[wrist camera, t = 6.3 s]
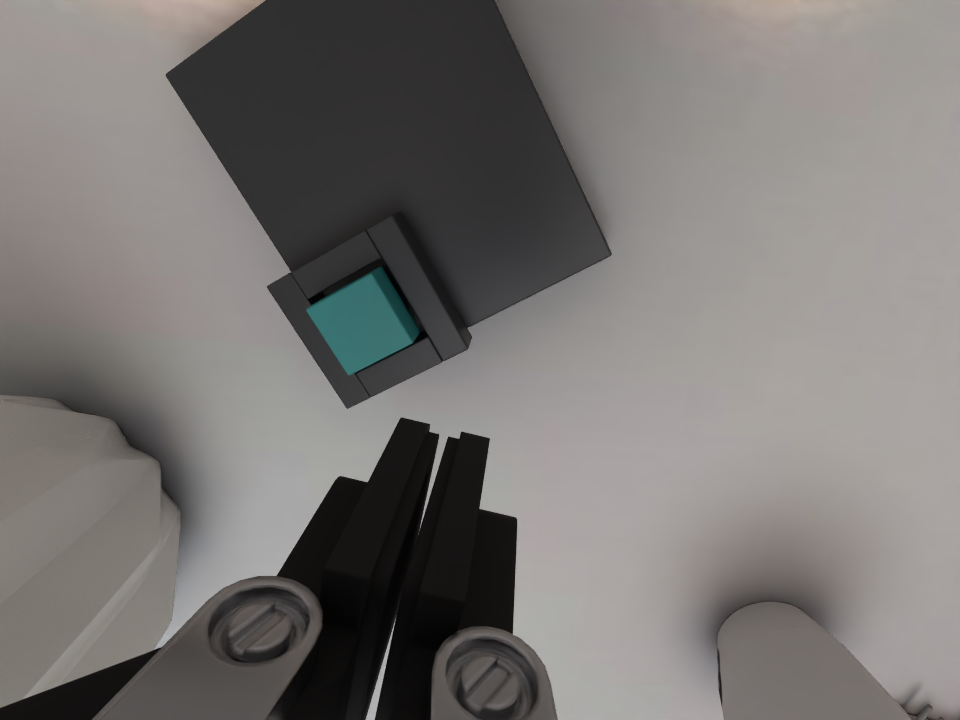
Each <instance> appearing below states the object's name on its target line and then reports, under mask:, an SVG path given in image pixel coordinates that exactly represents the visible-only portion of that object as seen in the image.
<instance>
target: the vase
mask: <svg viewBox="0 0 960 720" xmlns="http://www.w3.org/2000/svg"><path fill="white" fill-rule="evenodd" d="M179 535H180V510H179V508H178V506H177V505H176V504H175V502H174V501H173V500H172V499H171V498H170V497H169V496H168V494H167V493H166V492H165V491H164V490H163V489H162V488H161V468H160V464H159V461H157V460H156V459H155V458H154V457H152V456H150V455H148V454H146V453H144V452H142V451H139V450H137V449H135V448H133V447H132V446H130V445H129V443H128V442H127V440H126V438H125V437H124V435H123V433H122V432H121V430H120V428H119V427H118V425H117V424H116V423H115V422H114V421H113V420H112V419H108V418H104V417H101V416H96V415H90V414H83V413H77V412H74V411H72V410H71V409H70V408H68V407H67V406H65V405H64V404H62V403H61V402H59V401H56V400H54V399H49V398H39V397H28V396H13V395H0V708H1V707H4V706H6V705H9V704H12V703H14V702H17V701H20V700H22V699H25V698H28V697H30V696H33V695H36V694H38V693H41V692H44V691H46V690H49V689H52V688H54V687H57V686H60V685H62V684H65V683H68V682H70V681H73V680H76V679H78V678H81V677H84V676H86V675H89V674H92V673H94V672H97V671H100V670H102V669H105V668H108V667H110V666H113V665H116V664H118V663H121V662H124V661H126V660H129V659H131V658H134V657H137V656H139V655H142V654H145V653H147V652H150V651H153V650H154V648H155V647H156V645H157V644H158V642H159V641H160V639H161V638H162V636H163V634H164V633H165V631H166V630H167V628H168V626H169V624H170V622H171V621H172V616H173V607H174V597H175V586H176V574H177V563H178V549H179Z"/></svg>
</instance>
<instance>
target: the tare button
mask: <svg viewBox="0 0 960 720" xmlns="http://www.w3.org/2000/svg"><path fill="white" fill-rule="evenodd" d="M306 311H307V313H308V314H309V316H310V317H311V319H312V320H313V322H314V324H315V325H316V327H317V328H318V330H319V331H320V333H321V334H322V336H323V337H324V339H325V341H326V342H327V344H328V345H329V347H330V348H331V350H332V351H333V353H334V354H335V356H336V358H337V359H338V361H339V362H340V364H341V365H342V367H343V368H344V370H345V371H346V373H347V375H351V374H353V373H355V372H357V371H359V370H361V369H363V368H365V367H367V366H369V365H371V364H373V363H375V362H377V361H379V360H381V359H383V358H385V357H387V356H389V355H391V354H393V353H395V352H397V351H399V350H400V349H402V348H404V347H406V346H408V345H410V344H412V343H413V342H414V340H415V339H416V337H417V336H418V334H419V332H420V330H419V328H418V326H417V325H416V323H415V321H414V320H413V318H412V316H411V315H410V313H409V311H408V309H407V308H406V306H405V304H404V303H403V301H402V299H401V298H400V296H399V294H398V293H397V291H396V289H395V287H394V286H393V284H392V282H391V281H390V279H389V277H388V276H387V274H386V272H385V271H384V269H383V267H382V266H380V267H378V268H376V269H375V270H373V271H371V272H369V273H367V274H366V275H364V276H362V277H360V278H358V279H357V280H355V281H353V282H351V283H349V284H348V285H346V286H344V287H342V288H340V289H339V290H337V291H335V292H333V293H331V294H330V295H328V296H326V297H324V298H322V299H321V300H319V301H318V302H316V303H314V304H313V305H311V306H310V307H308V308H307V309H306Z"/></svg>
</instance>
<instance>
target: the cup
mask: <svg viewBox="0 0 960 720" xmlns="http://www.w3.org/2000/svg"><path fill="white" fill-rule="evenodd" d="M717 652H718V688H719V693H720V699H721V705H722V710H723V716H724V720H912V719H911V718H910V717H909V716H908V714H907V713H906V712H905V711H904V709H903V708H902V707H901V706H900V705H899V704H898V703H897V702H896V701H895V700H894V699H893V698H892V696H891V695H890V694H889V693H888V692H887V691H886V690H885V689H884V688H883V687H882V686H881V685H880V683H879V682H878V681H877V680H876V679H875V678H874V677H873V676H872V675H871V674H870V673H869V672H868V671H867V669H866V668H865V667H864V666H863V665H862V664H861V663H860V662H859V661H858V660H857V659H856V658H855V657H854V655H853V654H852V653H851V652H850V651H849V650H848V649H847V648H846V647H845V646H844V645H843V644H842V643H841V642H839V641H838V640H837V639H836V638H834V637H833V636H832V635H831V634H830V633H828V632H827V631H826V630H825V629H824V628H822V627H821V626H820V625H819V624H817V623H816V622H815V621H814V620H813V619H811V618H810V617H809V616H808V615H807V614H805V613H804V612H803V611H802V610H800V609H798V608H796V607H794V606H792V605H789V604H786V603H781V602H760V603H755V604H751V605H748V606H745V607H743V608H741V609H739V610H737V611H736V612H734V613H733V614H732V615H730V616H729V617H728V618H727V619H726V620H725V622H724V623H723V624H722V626H721V628H720V630H719V633H718V638H717Z"/></svg>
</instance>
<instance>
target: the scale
mask: <svg viewBox="0 0 960 720" xmlns="http://www.w3.org/2000/svg"><path fill="white" fill-rule="evenodd" d="M166 77H167V79H168V80H169V82H170V83H171V85H172V86H173V88H174V89H175V91H176V93H177V94H178V96H179V97H180V99H181V100H182V102H183V103H184V105H185V107H186V108H187V110H188V111H189V113H190V114H191V116H192V118H193V119H194V121H195V122H196V124H197V125H198V127H199V128H200V130H201V132H202V133H203V135H204V136H205V138H206V139H207V141H208V142H209V144H210V146H211V147H212V149H213V150H214V152H215V153H216V155H217V157H218V158H219V160H220V161H221V163H222V164H223V166H224V167H225V169H226V171H227V172H228V174H229V175H230V177H231V178H232V180H233V181H234V183H235V185H236V186H237V188H238V189H239V191H240V192H241V194H242V196H243V197H244V199H245V200H246V202H247V203H248V205H249V206H250V208H251V210H252V211H253V213H254V214H255V216H256V217H257V219H258V220H259V222H260V224H261V225H262V227H263V228H264V230H265V231H266V233H267V235H268V236H269V238H270V239H271V241H272V242H273V244H274V245H275V247H276V249H277V250H278V252H279V253H280V255H281V256H282V258H283V259H284V261H285V263H286V264H287V266H288V267H289V269H290V270H291V273H289V274H287V275H285V276H284V277H282V278H280V279H279V280H277V281H275V282H273V283H272V284H270V285H268V286H267V288H268V290H269V291H270V293H271V294H272V296H273V297H274V299H275V300H276V302H277V303H278V305H279V306H280V308H281V309H282V311H283V313H284V314H285V316H286V317H287V319H288V320H289V322H290V323H291V325H292V326H293V328H294V329H295V331H296V332H297V334H298V335H299V337H300V338H301V340H302V341H303V343H304V344H305V346H306V347H307V349H308V350H309V352H310V353H311V355H312V356H313V358H314V359H315V361H316V363H317V364H318V366H319V367H320V369H321V370H322V372H323V373H324V375H325V376H326V378H327V379H328V381H329V382H330V384H331V385H332V387H333V388H334V390H335V391H336V393H337V394H338V396H339V397H340V399H341V400H342V402H343V403H344V405H345V406H346V408H347V409H348V408H350V407H352V406H354V405H356V404H358V403H360V402H362V401H365V400H367V399H369V398H370V397H373V396H375V395H377V394H379V393H381V392H383V391H385V390H387V389H389V388H391V387H393V386H395V385H397V384H399V383H401V382H403V381H405V380H407V379H409V378H411V377H413V376H415V375H417V374H419V373H421V372H423V371H425V370H427V369H429V368H431V367H433V366H436V365H438V364H440V363H442V362H443V361H445V360H447V359H449V358H451V357H453V356H455V355H457V354H460V353H462V352H464V351H466V350H467V349H468V348H469V345H470V342H471V339H472V336H471V334H470V332H469V331H468V329H467V328H468V327H470V326H472V325H474V324H476V323H478V322H480V321H482V320H484V319H486V318H488V317H490V316H492V315H494V314H496V313H498V312H500V311H502V310H504V309H506V308H508V307H510V306H512V305H514V304H516V303H518V302H520V301H522V300H524V299H526V298H528V297H530V296H532V295H534V294H536V293H538V292H540V291H542V290H544V289H546V288H548V287H550V286H552V285H554V284H556V283H558V282H560V281H562V280H564V279H566V278H568V277H570V276H572V275H574V274H576V273H578V272H580V271H582V270H584V269H586V268H588V267H590V266H592V265H594V264H596V263H598V262H600V261H602V260H604V259H606V258H608V257H609V256H611V255H612V253H611V251H610V249H609V247H608V244H607V242H606V240H605V238H604V236H603V234H602V231H601V229H600V227H599V225H598V223H597V221H596V218H595V216H594V214H593V212H592V210H591V208H590V206H589V203H588V201H587V199H586V197H585V195H584V193H583V190H582V188H581V186H580V184H579V182H578V180H577V177H576V175H575V173H574V171H573V169H572V167H571V165H570V162H569V160H568V158H567V156H566V154H565V152H564V149H563V147H562V145H561V143H560V141H559V139H558V137H557V134H556V132H555V130H554V128H553V126H552V124H551V121H550V119H549V117H548V115H547V113H546V111H545V108H544V106H543V104H542V102H541V100H540V98H539V96H538V93H537V91H536V89H535V87H534V85H533V83H532V80H531V78H530V76H529V74H528V72H527V70H526V67H525V65H524V63H523V61H522V59H521V57H520V55H519V52H518V50H517V48H516V46H515V44H514V42H513V39H512V37H511V35H510V33H509V31H508V29H507V27H506V24H505V22H504V20H503V18H502V16H501V14H500V11H499V9H498V7H497V5H496V3H495V1H494V0H266V1H264V2H263V3H262V4H260V5H259V6H258V7H256V8H255V9H254V10H252V11H251V12H249V13H248V14H247V15H245V16H244V17H243V18H241V19H240V20H239V21H237V22H236V23H235V24H233V25H232V26H230V27H229V28H228V29H226V30H225V31H224V32H222V33H221V34H220V35H218V36H217V37H215V38H214V39H213V40H211V41H210V42H209V43H207V44H206V45H205V46H203V47H202V48H201V49H199V50H198V51H196V52H195V53H194V54H192V55H191V56H190V57H188V58H187V59H186V60H184V61H183V62H181V63H180V64H179V65H177V66H176V67H175V68H173V69H172V70H171V71H169V72H168V73H166ZM380 266H382V267H383V269H384V271H385V272H386V274H387V276H388V277H389V279H390V281H391V282H392V284H393V286H394V287H395V289H396V291H397V293H398V294H399V296H400V298H401V299H402V301H403V303H404V304H405V306H406V308H407V309H408V311H409V313H410V315H411V316H412V318H413V320H414V321H415V323H416V325H417V326H418V328H419V330H420V332H419V334H418V336H417V337H416V339H415V340H414V342H413V343H412V344H410V345H408V346H406V347H404V348H402V349H400V350H399V351H397V352H395V353H393V354H391V355H389V356H387V357H385V358H383V359H381V360H379V361H377V362H375V363H373V364H371V365H369V366H367V367H365V368H363V369H361V370H359V371H357V372H355V373H353V374H351V375H347V373H346V371H345V370H344V368H343V367H342V365H341V364H340V362H339V361H338V359H337V358H336V356H335V354H334V353H333V351H332V350H331V348H330V347H329V345H328V344H327V342H326V341H325V339H324V337H323V336H322V334H321V333H320V331H319V330H318V328H317V327H316V325H315V324H314V322H313V320H312V319H311V317H310V316H309V314H308V313H307V311H306V309H307V308H308V307H310V306H311V305H313V304H314V303H316V302H318V301H319V300H321V299H322V298H324V297H326V296H328V295H330V294H331V293H333V292H335V291H337V290H339V289H340V288H342V287H344V286H346V285H348V284H349V283H351V282H353V281H355V280H357V279H358V278H360V277H362V276H364V275H366V274H367V273H369V272H371V271H373V270H375V269H376V268H378V267H380Z"/></svg>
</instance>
